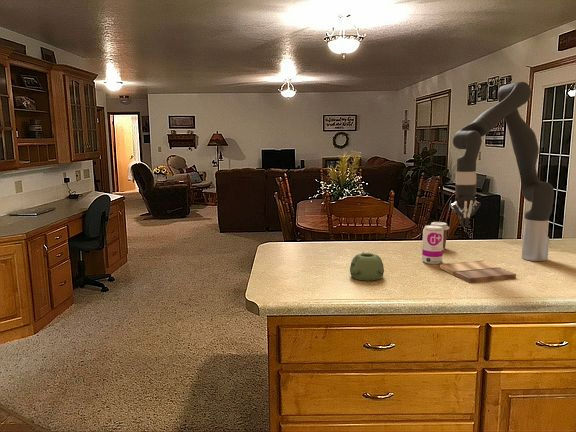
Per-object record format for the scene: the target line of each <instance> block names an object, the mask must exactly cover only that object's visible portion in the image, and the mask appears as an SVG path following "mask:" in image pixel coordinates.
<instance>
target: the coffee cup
mask: <svg viewBox="0 0 576 432" xmlns="http://www.w3.org/2000/svg"><path fill="white" fill-rule="evenodd" d="M430 225H435V226H441V227H442V228H443V230H444V235H443V251H444V250H445V249H446V244H447V237H448V230H449V229H450V227H449V226H448V223H446V222H444V221H443V222H442V221H433V222H431V223H430Z"/></svg>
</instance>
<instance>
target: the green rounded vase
mask: <svg viewBox="0 0 576 432" xmlns="http://www.w3.org/2000/svg"><path fill="white" fill-rule="evenodd" d="M349 273H350V276H352V277H353V278H354V279H356V280H358V281H367V282H371V281H378V280H380V279H381V278H383V277H384V273H385V266H384V263H383V260H382V258H381V257H380V256H379V255H378V254H375V253H370V252H364V251H363V252H361V253H357V254H356V255H355V256H354V257H353V258H352V259H351V262H350V266H349Z"/></svg>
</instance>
